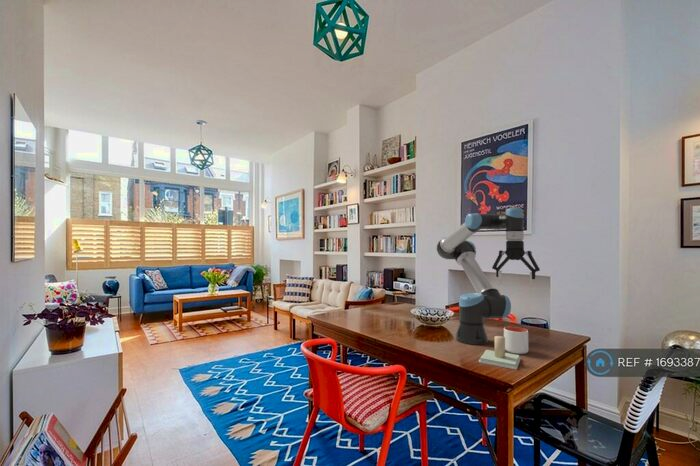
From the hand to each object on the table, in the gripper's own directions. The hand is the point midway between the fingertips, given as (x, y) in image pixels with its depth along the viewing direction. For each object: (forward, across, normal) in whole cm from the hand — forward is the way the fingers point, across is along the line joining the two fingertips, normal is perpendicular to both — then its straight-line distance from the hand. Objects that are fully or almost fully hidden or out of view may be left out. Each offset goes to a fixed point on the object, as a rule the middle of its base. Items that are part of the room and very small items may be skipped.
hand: (515, 285), depth 155 cm
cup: (+30, +1, -5) cm, 30 cm away
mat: (+29, -1, -24) cm, 38 cm away
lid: (+29, -1, -23) cm, 37 cm away
